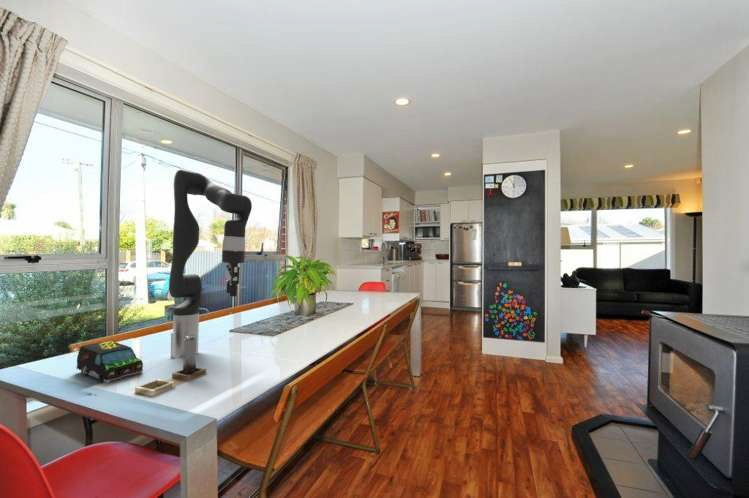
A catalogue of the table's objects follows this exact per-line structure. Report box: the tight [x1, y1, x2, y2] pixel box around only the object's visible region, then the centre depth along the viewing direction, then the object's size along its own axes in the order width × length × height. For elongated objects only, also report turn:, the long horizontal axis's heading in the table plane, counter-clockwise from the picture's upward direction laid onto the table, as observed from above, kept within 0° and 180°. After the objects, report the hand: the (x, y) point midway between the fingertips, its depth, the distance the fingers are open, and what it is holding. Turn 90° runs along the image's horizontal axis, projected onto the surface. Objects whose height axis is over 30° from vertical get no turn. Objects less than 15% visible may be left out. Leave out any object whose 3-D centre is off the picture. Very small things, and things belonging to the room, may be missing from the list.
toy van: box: [75, 340, 144, 384], centre depth 113 cm, size 11×25×10 cm, turn 60°
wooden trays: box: [133, 366, 207, 398], centre depth 104 cm, size 7×20×3 cm, turn 161°
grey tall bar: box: [182, 335, 197, 375], centre depth 110 cm, size 4×4×13 cm
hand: (231, 294), depth 119 cm, fingers open, 8 cm apart
